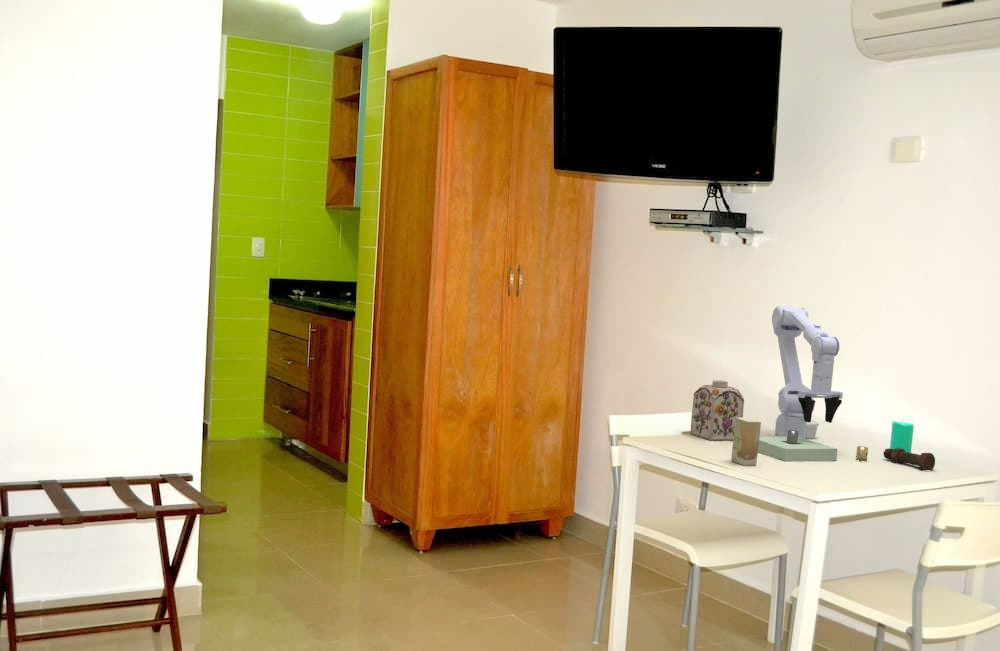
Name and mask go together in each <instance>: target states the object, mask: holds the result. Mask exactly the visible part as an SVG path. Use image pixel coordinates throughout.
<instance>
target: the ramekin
mask: <svg viewBox="0 0 1000 651" xmlns="http://www.w3.org/2000/svg"><path fill="white" fill-rule="evenodd" d="M819 424H820V423H819V422H818V421H816V420H812V419H811V422H807V425H806V436H805V439H807V440H813V439H815V437H816V435H817V430H818V427H819Z"/></svg>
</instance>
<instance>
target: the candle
mask: <svg viewBox="0 0 1000 651" xmlns="http://www.w3.org/2000/svg"><path fill="white" fill-rule="evenodd" d="M891 425H892V426H891V431H890V432H891V433H890V443H889V444H890V446H889V449H895V448H902V449H904V450H905V451H906V452H909V453H912V446H913V436H914V435H913V433H914V426H915V425H914V423H908V422H904V418H902V422H900V421H896V420H895V421H894V420H893V421H892V423H891Z"/></svg>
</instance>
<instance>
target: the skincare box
mask: <svg viewBox="0 0 1000 651" xmlns="http://www.w3.org/2000/svg"><path fill="white" fill-rule="evenodd" d="M761 424H762V422H761V421H759V420H757V419H754V418H750V417H743V418H740V417H739V418H736V420H735V429H734V438H733V440H732V449H731V457H730V458H731V459H730V460H731V462H732V461H733V462H735V463H736V464H740V465H741V466H757V462H758V453H759V452H758V446H759V437H761V435H760V434H761V427H762V425H761Z"/></svg>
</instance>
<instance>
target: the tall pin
mask: <svg viewBox="0 0 1000 651" xmlns="http://www.w3.org/2000/svg"><path fill="white" fill-rule="evenodd" d="M797 442H798V431H795V430H788V434H787V443H788V444H797Z"/></svg>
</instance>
